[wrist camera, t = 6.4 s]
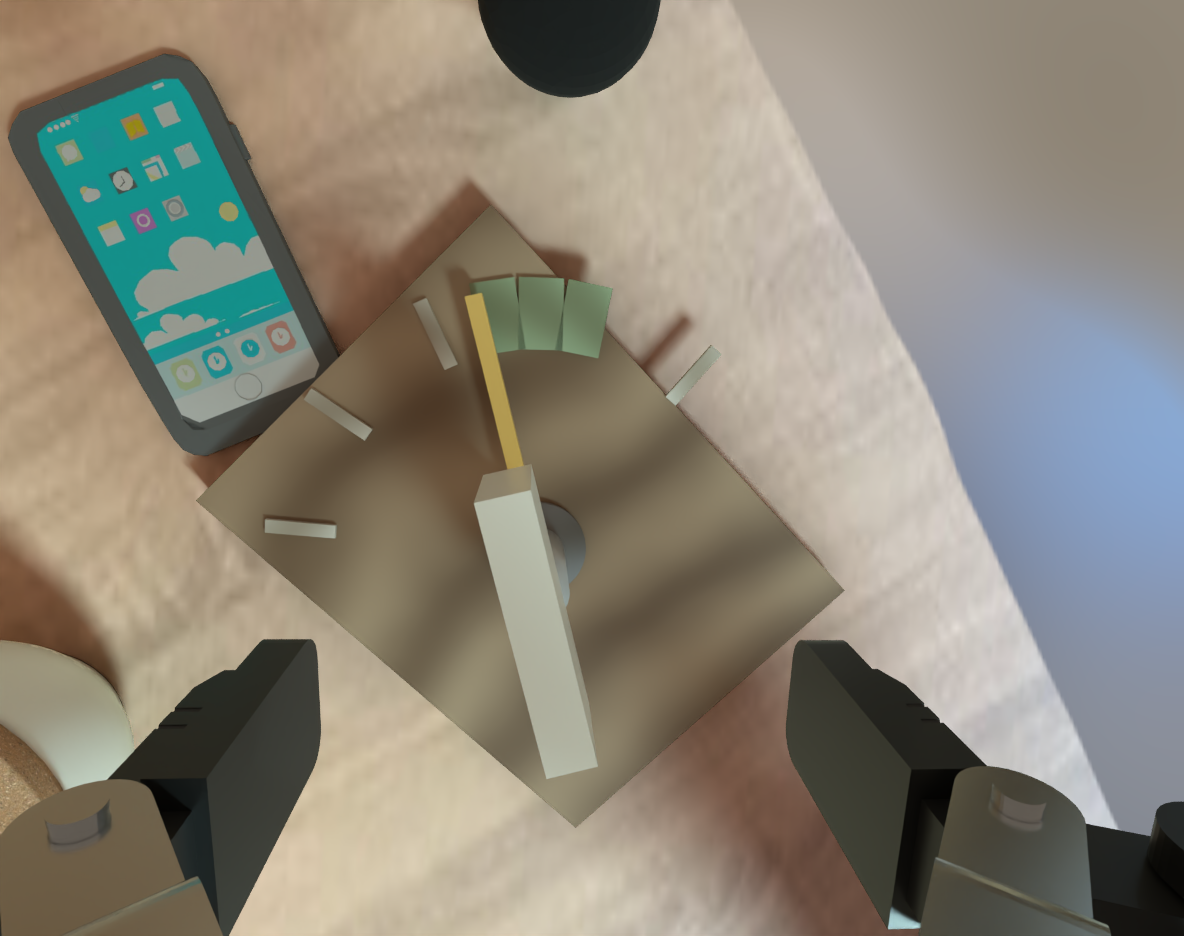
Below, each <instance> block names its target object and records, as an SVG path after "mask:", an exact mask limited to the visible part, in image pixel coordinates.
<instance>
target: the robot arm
mask: <svg viewBox="0 0 1184 936" xmlns="http://www.w3.org/2000/svg"><path fill="white" fill-rule="evenodd" d="M320 737H321V720H320V700H319V680H318V660H317V650H316V645H315V643H314V641H313V640H311V639H264V640H262V641H261V642H260V643H259V644H258V645H257V646H256V647H255V648H254V649H253V651H252V652H251V653H250V654H249V655H248V656H247V657H246V659H245V660H244V661H243V662H242V663H241V664H240V665H239V667H238V668H237V669H236V670H224V671H222V672H220V673H219V674H217V675H215V676H213V677H212V678H210V679H208V680H206V681H205V682H203V683H201V684H199V685H198V686H196V687H194V688H193V689H192V690H191V691H190V692H189V693H188V695H187V696H186V697H185V698H184V699H183V700H182V701H181V702H180V703H179V704H178V705H177V706H176V707H175V711H174V712H170V714H169V715H168V716H167V717H166V718H165V719H164V720H163V721H162V722H161V723H160V724H159V728H158V729H154V730H153V731H152V733H151V734H150V735H149V736H148V737H147V738H146V739H145V740H144V741H143V742H142V743H141V744H140V745H139V746H138V747H137V748H136V749H135V750H134V752H133V753H132V754H131V755H130V756H129V757H128V758H127V759H126V760H125V761H124V762H123V763H122V764H121V765H120V766H119V767H118V768H117V769H116V771H115V772H114V773H113V774H112V775H111V776H110V777H109V778H108V779H107V780H102V781H96V782H91V783H86V784H83V785H79V786H76V787H72V788H70V789H67V790H64V791H61V792H59V793H57V794H54V795H52V796H50V797H48V798H46V799H44V800H42V801H40V802H39V803H37V804H35V805H33V806H32V807H30V808H29V809H27V810H26V811H24V812H23V813H22V814H20V815H19V816H18V817H17V818H15V819H14V820H13V821H12V822H11V823H10V824H9V825H8V826H7V827H6V829H5V830H4V832H3V833H2V834H1V836H0V936H229V934H230V932H231V930H232V928H233V926H234V924H235V922H236V920H237V919H238V917H239V915H240V913H241V911H242V909H243V907H244V905H245V903H246V901H247V899H248V897H249V895H250V893H251V891H252V889H253V887H254V885H255V883H256V881H257V879H258V877H259V875H260V873H261V871H262V869H263V867H264V865H265V863H266V861H267V859H268V857H269V855H270V853H271V852H272V850H273V848H274V846H275V844H276V842H277V840H278V838H279V836H280V834H281V832H282V830H283V828H284V826H285V824H286V822H287V820H288V818H289V816H290V814H291V812H292V810H293V808H294V806H295V804H296V802H297V800H298V798H299V796H300V794H301V792H302V790H303V788H304V787H305V785H306V783H307V781H308V779H309V777H310V775H311V773H312V771H313V768H314V766H315V763H316V760H317V756H318V752H319V746H320ZM786 738H787V745H788V750H789V754H790V757H791V760H792V762H793V764H794V766H795V768H796V770H797V771H798V773H799V775H800V777H801V778H802V780H803V782H804V784H805V785H806V787H807V789H808V791H809V792H810V794H811V796H812V798H813V799H814V801H815V803H816V805H817V806H818V808H819V810H820V812H821V813H822V815H823V817H824V819H825V820H826V822H827V824H828V826H829V827H830V829H831V831H832V833H833V834H834V836H835V838H836V840H837V841H838V843H839V845H840V847H841V848H842V850H843V852H844V854H845V855H846V857H847V859H848V861H849V862H850V864H851V866H852V868H853V869H854V871H855V873H856V875H857V876H858V878H859V880H860V882H861V883H862V885H863V887H864V889H865V890H866V892H867V894H868V896H869V897H870V899H871V901H872V903H873V904H874V906H875V908H876V910H877V911H878V913H879V915H880V916H881V918H882V920H883V922H884V923H885V925H886V927H887V929H913V928H920V930H919V934H918V936H1184V802H1170V803H1166V804H1163V805H1161V806H1160V807H1159V808H1158V809H1157V811H1156V815H1155V820H1154V824H1153V828H1152V833H1151V836H1146V835H1141V834H1136V833H1130V832H1125V831H1120V830H1115V829H1110V828H1105V827H1100V826H1094V825H1090V824H1086V823H1085V819H1084V817H1083V815H1082V813H1081V812H1080V810H1079V809H1078V808H1077V807H1076V805H1075V804H1074V803H1073V802H1072V801H1070V800H1069V799H1068V798H1067V797H1066V796H1064V795H1063V794H1062V793H1061V792H1059V791H1057V790H1056V789H1054V788H1053V787H1051V786H1049V785H1047V784H1046V783H1044V782H1042V781H1040V780H1038V779H1035V778H1033V777H1031V776H1028V775H1025V774H1023V773H1020V772H1016V771H1013V770H1009V769H1004V768H999V767H991V766H986V765H985V764H984V763H983V762H982V761H981V760H980V759H979V758H978V757H977V756H976V755H975V754H974V753H973V752H972V751H971V750H970V749H969V748H968V747H967V746H966V745H965V744H964V743H963V742H962V741H961V740H960V739H959V738H958V737H957V736H956V735H955V734H954V733H953V732H952V731H951V730H950V729H949V728H948V727H947V726H946V725H945V724H944V723H940V720H939V718H938V717H937V716H936V715H935V714H934V713H933V712H932V711H931V710H930V709H929V708H928V707H924V703H923V702H922V701H921V700H920V699H919V698H918V697H917V696H916V695H915V694H914V693H913V692H912V691H911V690H910V689H909V688H908V687H907V686H906V685H905V684H903V683H901V682H899V681H898V680H896V679H894V678H892V677H891V676H889V675H887V674H885V673H883V672H882V671H880V670H878V669H872V668H871V667H870V666H869V665H868V664H867V663H866V662H865V661H864V660H863V659H862V658H861V657H860V656H859V655H858V654H857V653H856V652H855V650H854V649H853V648H852V647H851V646H850V645H849V644H848V643H847V642H845V641H843V640H801V641H799V642H798V643H797V644H796V646H795V649H794V653H793V661H792V671H791V681H790V690H789V700H788V710H787V720H786Z"/></svg>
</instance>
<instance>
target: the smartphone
mask: <svg viewBox="0 0 1184 936" xmlns="http://www.w3.org/2000/svg"><path fill="white" fill-rule="evenodd" d="M8 139H9V142H10V145H11V148H12V150H13V153H14V155H15V157H16V159H17V160H18V162H19V164H20V166H21V168H22V169H23V171H24V173H25V175H26V177H27V179H28V180H29V182H30V184H31V186H32V188H33V189H34V191H35V193H36V195H37V197H38V198H39V200H40V202H41V204H42V206H43V208H44V209H45V211H46V213H47V215H48V217H49V218H50V220H51V222H52V224H53V226H54V228H55V229H56V231H57V233H58V235H59V237H60V238H61V240H62V242H63V244H64V246H65V248H66V249H67V251H68V253H69V255H70V257H71V258H72V260H73V262H74V264H75V266H76V268H77V269H78V271H79V273H80V275H81V277H82V278H83V280H84V282H85V284H86V286H87V288H88V289H89V291H90V293H91V295H92V297H93V298H94V300H95V302H96V304H97V306H98V308H99V309H100V311H101V313H102V315H103V317H104V318H105V320H106V322H107V324H108V326H109V328H110V329H111V331H112V333H113V335H114V337H115V338H116V340H117V342H118V344H119V346H120V348H121V349H122V351H123V353H124V355H125V357H126V358H127V360H128V362H129V364H130V366H131V368H132V369H133V371H134V373H135V375H136V377H137V378H138V380H139V382H140V384H141V386H142V387H143V389H144V391H145V392H146V394H147V396H148V397H149V399H150V401H151V402H152V404H153V406H154V407H155V409H156V411H157V413H158V414H159V416H160V418H161V419H162V421H163V422H164V424H165V426H166V427H167V429H168V430H169V432H170V434H171V435H172V437H173V438H174V440H175V441H176V442H177V443H178V444H179V445H180V447H181V448H182V449H183V450H185V451H187V452H189V453H192V454H194V455H204V456H207V455H209V454H212V453H214V452H217V451H219V450H221V449H224V448H226V447H229V446H231V445H234V444H236V443H239V442H241V441H244V440H246V439H249V438H251V437H254V436H256V435H259V434H261V433H263V432H265V431H266V430H267V429H268V428H269V427H270V426H271V425H272V424H273V423H274V422H275V421H276V420H277V419H278V418H279V417H280V416H281V415H282V414H283V413H284V412H285V411H286V410H287V409H288V408H289V407H290V406H291V405H292V404H293V403H294V402H295V401H296V400H297V399H298V398H299V397H300V396H301V395H302V394H303V393H304V392H305V391H306V390H307V389H308V388H309V387H310V386H311V385H312V384H313V383H314V382H315V381H316V380H317V379H318V378H319V377H320V376H321V375H322V374H323V373H324V372H325V371H326V370H327V369H328V368H329V367H330V366H331V365H332V364H333V363H334V362H335V361H336V360H337V359H338V358H339V357H340V355H339V352H338V350H337V348H336V346H335V344H334V342H333V340H332V338H331V336H330V333H329V331H328V329H327V327H326V325H325V323H324V321H323V319H322V317H321V315H320V312H319V310H318V308H317V306H316V304H315V302H314V300H313V298H312V296H311V294H310V291H309V289H308V287H307V285H306V283H305V281H304V279H303V277H302V275H301V273H300V270H299V268H298V266H297V264H296V262H295V260H294V258H293V256H292V254H291V251H290V249H289V247H288V245H287V243H286V241H285V239H284V237H283V235H282V233H281V230H280V228H279V226H278V224H277V222H276V220H275V218H274V216H273V214H272V212H271V209H270V207H269V205H268V203H267V201H266V199H265V197H264V195H263V193H262V191H261V188H260V186H259V184H258V182H257V180H256V178H255V176H254V174H253V172H252V169H251V167H250V165H249V163H248V161H247V160H249V159H251V157H250V155H249V153H248V150H247V148H246V146H245V144H244V142H243V140H242V138H241V136H240V134H239V131H238V129H237V127H236V125H234V124H232V125H230V123H229V121H228V119H227V117H226V115H225V113H224V111H223V109H222V106H221V104H220V102H219V100H218V98H217V96H216V94H215V92H214V91H213V89H212V87H211V85H210V83H209V82H208V80H207V78H206V77H205V76H204V75H203V73H202V72H201V71H200V70H199V68H198V67H197V66H196V65H195V64H194V63H192V62H191V61H189V60H187V59H184V58H182V57H180V56H176V55H169V54H163V55H160V56H158V57H155V58H153V59H150V60H148V61H145V62H143V63H140V64H138V65H135V66H133V67H130V68H128V69H125V70H123V71H120V72H118V73H115V74H113V75H110V76H108V77H105V78H103V79H100V80H98V81H95V82H93V83H91V84H88V85H86V86H83V87H81V88H78V89H76V90H73V91H71V92H68V93H66V94H63V95H61V96H58V97H56V98H53V99H51V100H48V101H46V102H43V103H41V104H38V105H36V106H33V107H31V108H28V109H26V110H23V111H21V112H20V113H19V114H18V116H17V118H16V119H15V121H14V122H13V124H12V127H11V130H10V133H9V137H8Z"/></svg>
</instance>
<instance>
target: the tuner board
mask: <svg viewBox="0 0 1184 936" xmlns="http://www.w3.org/2000/svg"><path fill="white" fill-rule="evenodd" d="M478 293H483V297H484V301H485V306H486V310H487V314H488V318H489V322H490V326H491V330H492V334H493V338H494V343H495V347H496V351H497V355H498V359H499V363H500V367H501V371H502V375H503V380H504V384H505V388H506V392H507V396H508V400H509V404H510V408H511V412H512V417H513V421H514V425H515V429H516V433H517V437H518V441H519V445H520V449H521V454H522V458H523V462H524V466H525V465H529V464H531V465H532V469H533V473H534V477H535V482H536V486H537V490H538V494H539V498H540V502H541V506H542V511H543V515H544V519H545V523H546V527H547V529H549V530H551V531H553V532H554V533H555V534H556V535H558V537H559V538H560V539H561V541H562V543H563V546H564V551H565V559H566V567H567V575H568V582H569V590H570V596H569V601H568V604H567V606H566V610H567V614H568V619H569V623H570V627H571V631H572V635H573V639H574V643H575V648H576V652H577V656H578V660H579V664H580V668H581V673H582V677H583V681H584V685H585V689H586V693H587V697H588V702H589V707H590V714H591V721H592V729H593V736H594V743H595V750H596V757H597V764H598V767H595V768H590V769H586V770H582V771H578V772H574V773H570V774H566V775H562V776H558V777H554V778H549V779H546V775H545V772H544V768H543V764H542V760H541V756H540V753H539V749H538V745H537V741H536V737H535V734H534V730H533V726H532V722H531V719H530V715H529V711H528V707H527V703H526V700H525V696H524V692H523V688H522V684H521V681H520V677H519V673H518V669H517V665H516V662H515V658H514V654H513V650H512V646H511V643H510V639H509V635H508V631H507V627H506V624H505V620H504V616H503V612H502V608H501V605H500V601H499V597H498V593H497V589H496V586H495V582H494V578H493V574H492V571H491V567H490V563H489V559H488V555H487V552H486V548H485V544H484V540H483V536H482V533H481V529H480V525H479V521H478V517H477V514H476V510H475V506H474V501H475V498H476V495H477V492H478V489H479V486H480V483H481V480H482V477H483V475H485V474H490V473H494V472H499V471H503V470H507V465H506V461H505V457H504V453H503V449H502V445H501V441H500V437H499V433H498V429H497V425H496V421H495V417H494V413H493V409H492V405H491V401H490V397H489V393H488V389H487V385H486V381H485V377H484V373H483V369H482V365H481V361H480V357H479V353H478V349H477V345H476V341H475V337H474V333H473V329H472V325H471V321H470V317H469V313H468V309H467V305H466V301H465V296H469V295H474V294H478ZM611 294H612V288H608V287H603V286H599V285H594V284H590V283H585V282H581V281H576V280H571V279H569V280H568V285H567V287H566V286H565V285H564V278H558V277H557V276H556V275H555V274H554V273H553V272H552V270H551V269H550V268H549V267H548V266H547V265H546V264H545V263H544V262H543V261H542V260H541V258H540V257H539V256H538V255H537V254H536V253H535V252H534V251H533V250H532V249H531V248H530V246H529V245H528V244H527V243H526V242H525V241H524V240H523V239H522V238H521V237H520V236H519V234H518V233H517V232H516V231H515V230H514V229H513V228H512V227H511V226H510V225H509V224H508V222H507V221H506V220H505V219H504V218H503V217H502V216H501V215H500V214H499V213H498V212H497V210H496V209H495V208H494V207H493V206H492V205H490V206H489V207H488V208H487V209H486V210H485V211H484V212H483V213H482V214H481V215H480V216H479V217H478V218H477V219H476V220H475V221H474V222H473V223H472V224H471V225H470V226H469V227H468V228H467V229H466V230H465V231H464V232H463V233H462V234H461V235H460V236H459V237H458V238H457V239H456V240H455V241H454V242H453V243H452V244H451V245H450V246H449V247H448V248H447V249H446V250H445V251H444V252H443V253H442V254H441V255H440V256H439V257H438V258H437V259H436V260H435V261H434V262H433V263H432V264H431V265H430V266H429V267H428V268H427V269H426V270H425V271H424V272H423V273H422V274H421V275H420V276H419V277H418V278H417V279H416V280H415V281H414V282H413V283H412V284H411V285H410V286H409V287H408V288H407V289H406V290H405V291H404V292H403V293H402V294H401V295H400V296H399V297H398V298H397V299H396V300H395V301H394V302H393V303H392V304H391V305H390V306H389V307H388V308H387V309H386V310H385V311H384V312H383V313H382V314H381V315H380V316H379V317H378V318H377V319H376V320H375V321H374V322H373V323H372V324H371V325H370V326H369V327H368V328H367V329H366V330H365V331H364V332H363V333H362V334H361V335H360V336H359V337H358V338H357V339H356V340H355V341H354V342H353V343H352V344H351V345H350V346H349V347H348V348H347V349H346V350H345V352H344V353H343V354H342V355H341V356H340V357H339V358H338V359H337V360H336V361H335V362H334V363H333V364H332V365H331V366H330V367H329V368H328V369H327V370H326V371H325V372H324V373H323V374H322V375H321V376H320V377H319V378H318V379H317V380H316V381H315V382H314V383H313V384H312V385H311V386H310V387H309V388H308V389H307V390H306V391H305V392H304V393H303V394H302V395H301V396H300V397H299V398H298V399H297V400H296V401H295V402H294V403H293V404H292V405H291V406H290V407H289V408H288V409H287V410H286V411H285V412H284V413H283V414H282V415H281V416H280V417H279V418H278V419H277V420H276V421H275V422H274V423H273V424H272V425H271V426H270V427H269V428H268V429H267V430H266V431H265V432H264V433H263V434H262V435H261V436H260V437H259V438H258V439H257V440H256V441H255V442H254V443H253V444H252V445H251V446H250V447H249V448H248V449H247V450H246V451H245V452H244V453H243V454H242V455H241V456H240V457H239V458H238V459H237V460H236V461H235V462H234V463H233V464H232V465H231V466H230V467H229V468H228V469H227V470H226V471H225V472H224V473H223V474H222V475H221V476H220V477H219V478H218V479H217V480H216V481H215V482H214V483H213V484H212V485H211V486H210V487H209V488H208V489H207V490H206V491H205V492H204V493H203V494H202V495H201V496H200V497H199V498H198V499H197V500H196V501H197V502H198V503H199V504H200V505H202V506H203V507H204V508H205V509H206V510H207V511H209V512H210V513H211V514H212V515H213V516H214V517H216V518H217V519H218V520H219V521H220V522H221V523H223V524H224V525H225V526H226V527H227V528H228V529H229V530H231V531H232V532H233V533H234V534H235V535H236V536H238V537H239V538H240V539H241V540H242V541H243V542H245V543H246V544H247V545H248V546H249V547H250V548H252V549H253V550H254V551H255V552H256V553H257V554H259V555H260V556H261V557H262V558H263V559H264V560H265V561H267V562H268V563H269V564H270V565H271V566H272V567H274V568H275V569H276V570H277V571H278V572H279V573H281V574H282V575H283V576H284V577H285V578H286V579H288V580H289V581H290V582H291V583H292V584H293V585H294V586H296V587H297V588H298V589H299V590H300V591H301V592H303V593H304V594H305V595H306V596H307V597H308V598H310V599H311V600H312V601H313V602H314V603H315V604H317V605H318V606H319V607H320V608H321V609H322V610H324V611H325V612H326V613H327V614H328V615H329V616H330V617H332V618H333V619H334V620H335V621H336V622H337V623H339V624H340V625H341V626H342V627H343V628H344V629H346V630H347V631H348V632H349V633H350V634H351V635H353V636H354V637H355V638H356V639H357V640H358V641H360V642H361V643H362V644H363V645H364V646H365V647H366V648H368V649H369V650H370V651H371V652H372V653H373V654H375V655H376V656H377V657H378V658H379V659H380V660H382V661H383V662H384V663H385V664H386V665H387V666H389V667H390V668H391V669H392V670H393V671H394V672H395V673H397V674H398V675H399V676H400V677H401V678H402V679H404V680H405V681H406V682H407V683H408V684H409V685H411V686H412V687H413V688H414V689H415V690H416V691H418V692H419V693H420V694H421V695H422V696H423V697H425V698H426V699H427V700H428V701H429V702H430V703H431V704H433V705H434V706H435V707H436V708H437V709H438V710H440V711H441V712H442V713H443V714H444V715H445V716H447V717H448V718H449V719H450V720H451V721H452V722H454V723H455V724H456V725H457V726H458V727H459V728H460V729H462V730H463V731H464V732H465V733H466V734H467V735H469V736H470V737H471V738H472V739H473V740H474V741H476V742H477V743H478V744H479V745H480V746H481V747H483V748H484V749H485V750H486V751H487V752H488V753H490V754H491V755H492V756H493V757H494V758H495V759H496V760H498V761H499V762H500V763H501V764H502V765H503V766H505V767H506V768H507V769H508V770H509V771H510V772H512V773H513V774H514V775H515V776H516V777H517V778H519V779H520V780H521V781H522V782H523V783H524V784H526V785H527V786H528V787H529V788H530V789H531V790H532V791H534V792H535V793H536V794H537V795H538V796H539V797H541V798H542V799H543V800H544V801H545V802H546V803H548V804H549V805H550V806H551V807H552V808H553V809H555V810H556V811H557V812H558V813H559V814H560V815H561V816H563V817H564V818H565V819H566V820H567V821H568V822H570V823H571V824H572V825H573V826H574V827H575V828H576V827H577V826H578V825H579V824H581V823H582V822H583V821H584V820H585V819H586V818H587V817H589V816H590V815H591V814H592V813H593V812H594V811H595V810H596V809H598V808H599V807H600V806H601V805H602V804H603V803H604V802H606V801H607V800H608V799H609V798H610V797H611V796H612V795H613V794H615V793H616V792H617V791H618V790H619V789H620V788H621V787H623V786H624V785H625V784H626V783H627V782H628V781H629V780H630V779H632V778H633V777H634V776H635V775H636V774H637V773H638V772H640V771H641V770H642V769H643V768H644V767H645V766H646V765H647V764H649V763H650V762H651V761H652V760H653V759H654V758H655V757H657V756H658V755H659V754H660V753H661V752H662V751H663V750H664V749H666V748H667V747H668V746H669V745H670V744H671V743H672V742H674V741H675V740H676V739H677V738H678V737H679V736H680V735H681V734H683V733H684V732H685V731H686V730H687V729H688V728H689V727H691V726H692V725H693V724H694V723H695V722H696V721H697V720H698V719H700V718H701V717H702V716H703V715H704V714H705V713H706V712H708V711H709V710H710V709H711V708H712V707H713V706H714V705H715V704H717V703H718V702H719V701H720V700H721V699H722V698H723V697H725V696H726V695H727V694H728V693H729V692H730V691H731V690H732V689H734V688H735V687H736V686H737V685H738V684H739V683H740V682H742V681H743V680H744V679H745V678H746V677H747V676H748V675H749V674H751V673H752V672H753V671H754V670H755V669H756V668H757V667H759V666H760V665H761V664H762V663H763V662H764V661H765V660H766V659H768V658H769V657H770V656H771V655H772V654H773V653H774V652H776V651H777V650H778V649H779V648H780V647H781V646H782V645H783V644H785V643H786V642H787V641H788V640H789V639H790V638H791V637H793V636H794V635H795V634H796V633H797V632H798V631H799V630H800V629H802V628H803V627H804V626H805V625H806V624H807V623H808V622H809V621H811V620H812V619H813V618H814V617H815V616H816V615H817V614H819V613H820V612H821V611H822V610H823V609H824V608H825V607H826V606H828V605H829V604H830V603H831V602H832V601H833V600H834V599H836V598H837V597H838V596H839V595H840V594H841V593H842V592H843V591H845V590H844V589H843V588H842V587H841V586H840V585H839V584H838V583H837V582H836V581H835V579H834V578H833V577H832V576H831V575H830V574H829V573H828V572H827V571H826V570H825V569H824V567H823V566H822V565H821V564H820V563H819V562H818V561H817V560H816V559H815V558H814V556H813V555H812V554H811V553H810V552H809V551H808V550H807V549H806V548H805V547H804V546H803V544H802V543H801V542H800V541H799V540H798V539H797V538H796V537H795V536H794V535H793V534H792V532H791V531H790V530H789V529H788V528H787V527H786V526H785V525H784V524H783V523H782V522H781V520H780V519H779V518H778V517H777V516H776V515H775V514H774V513H773V512H772V511H771V510H770V508H769V507H768V506H767V505H766V504H765V503H764V502H763V501H762V500H761V499H760V498H759V496H758V495H757V494H756V493H755V492H754V491H753V490H752V489H751V488H750V487H749V486H748V484H747V483H746V482H745V481H744V480H743V479H742V478H741V477H740V476H739V475H738V474H737V472H736V471H735V470H734V469H733V468H732V467H731V466H730V465H729V464H728V463H727V462H726V460H725V459H724V458H723V457H722V456H721V455H720V454H719V453H718V452H717V451H716V450H715V448H714V447H713V446H712V445H711V444H710V443H709V442H708V441H707V440H706V439H705V438H704V436H703V435H702V434H701V433H700V432H699V431H698V430H697V429H696V428H695V427H694V426H693V424H692V423H691V422H690V421H689V420H688V419H687V418H686V417H685V416H684V415H683V413H682V412H681V411H680V410H679V409H678V408H677V407H676V405H677V403H678V402H679V401H680V400H681V399H682V398H683V397H684V396H685V395H686V393H687V392H688V391H689V390H690V389H691V388H692V387H693V386H694V385H695V383H696V382H697V381H698V380H699V379H700V378H701V377H702V376H703V375H704V373H705V372H706V371H707V370H708V369H709V368H710V367H711V366H712V365H713V363H714V362H715V361H716V360H717V359H718V358H719V357H720V356H721V355H722V354H721V353H720V352H718V351H717V350H716V349H715V348H714V347H713V346H712V345H710V347H709V348H708V349H707V350H706V351H705V352H704V353H703V354H702V355H701V357H700V358H699V359H698V360H697V361H696V362H695V363H694V364H693V366H692V367H691V368H690V369H689V370H688V371H687V372H686V373H685V374H684V376H683V377H682V378H681V379H680V380H679V381H678V382H677V383H676V384H675V386H674V387H673V388H672V389H671V390H670V391H669V392H668V393H667V395H665V394H664V393H663V392H662V391H661V389H660V388H659V387H658V386H657V385H656V384H655V383H654V382H653V381H652V380H651V379H650V377H649V376H648V375H647V374H646V373H645V372H644V371H643V370H642V369H641V368H640V367H639V365H638V364H637V363H636V362H635V361H634V360H633V359H632V358H631V357H630V356H629V355H628V353H627V352H626V351H625V350H624V349H623V348H622V347H621V346H620V345H619V344H618V343H617V341H616V340H615V339H614V338H613V337H612V336H611V335H610V334H609V333H608V332H607V331H606V329H605V323H606V318H607V313H608V308H609V303H610V299H611Z"/></svg>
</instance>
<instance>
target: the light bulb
mask: <svg viewBox="0 0 1184 936" xmlns="http://www.w3.org/2000/svg"><path fill="white" fill-rule="evenodd" d="M478 5H479V11H480V15H481V20H482V23H483V25H484V28H485V31H486V34H487V36H488V38H489V40H490V42H491V45H492V47H493V48H494V50H495V51H496V53H497V54H498V56H499V57H500V59H501V60H502V61H503V63H504V64H505V65H506V66H507V67H508V69H509V70H510V71H511V72H512V73H513V74H514V75H516V76H517V77H518V78H519V79H520V80H522V81H523V82H524V83H526V84H527V85H529V86H531V87H533V88H534V89H536V90H538V91H541V92H544V93H546V94H549V95H554V96H558V97H569V98H571V97H582V96H586V95H590V94H594V93H598V92H600V91H602V90H604V89H606V88H608V87H610V86H612V85H613V84H614V83H616V82H617V81H619V80H620V79H621V78H622V77H623V76H624V75H625V74H626V73H627V72H628V71H630V70H631V69H632V68H633V66H634V65H635V64H636V63H637V61H638V60H639V59H640V58H641V56H642V54H643V53H644V51H645V49H646V48H647V46H648V43H649V41H650V39H651V37H652V34H653V31H654V27H655V24H656V21H657V17H658V12H659V7H660V0H478Z"/></svg>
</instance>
